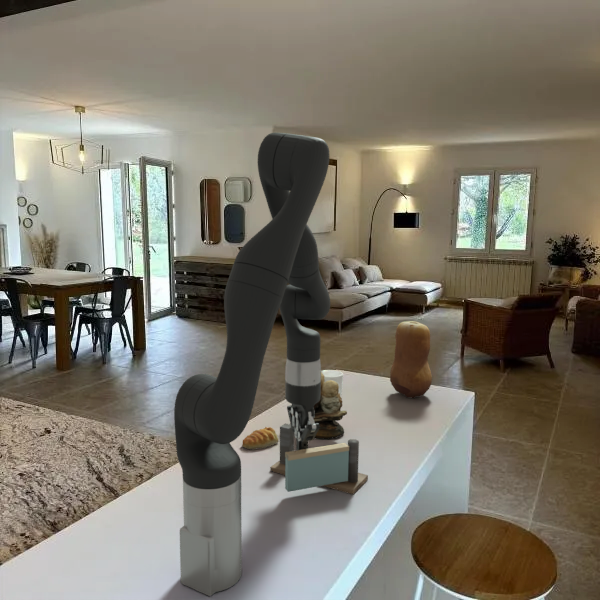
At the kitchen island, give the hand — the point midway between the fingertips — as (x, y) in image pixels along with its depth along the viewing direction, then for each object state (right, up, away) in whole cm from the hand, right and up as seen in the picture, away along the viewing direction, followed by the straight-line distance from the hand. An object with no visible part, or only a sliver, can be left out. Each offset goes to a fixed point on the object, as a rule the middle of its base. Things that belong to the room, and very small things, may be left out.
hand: (302, 455), depth 119 cm
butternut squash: (+36, +2, +63) cm, 73 cm away
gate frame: (+4, -6, +6) cm, 10 cm away
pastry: (-11, -4, +24) cm, 26 cm away
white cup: (+9, 0, +55) cm, 56 cm away
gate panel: (+3, -6, -1) cm, 7 cm away
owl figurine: (+5, -3, +33) cm, 34 cm away
